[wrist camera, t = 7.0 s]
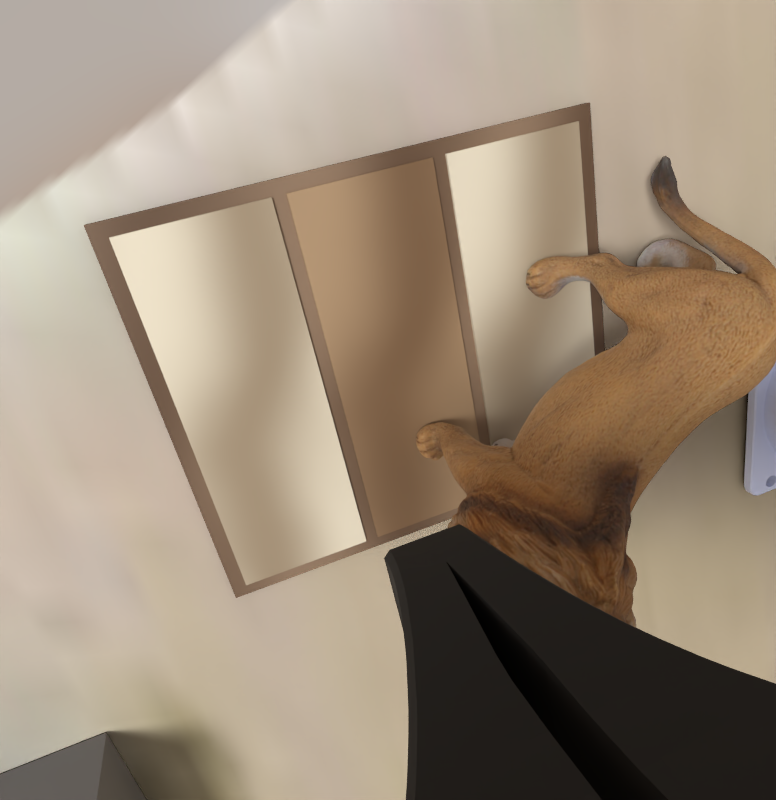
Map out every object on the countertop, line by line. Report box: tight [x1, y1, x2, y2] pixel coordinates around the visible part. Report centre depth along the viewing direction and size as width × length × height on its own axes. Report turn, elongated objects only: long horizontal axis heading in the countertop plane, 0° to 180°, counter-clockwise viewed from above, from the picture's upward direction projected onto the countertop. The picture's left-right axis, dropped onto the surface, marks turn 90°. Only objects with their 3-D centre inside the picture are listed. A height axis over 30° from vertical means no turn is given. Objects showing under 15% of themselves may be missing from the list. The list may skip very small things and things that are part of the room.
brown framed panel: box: [84, 103, 605, 598], centre depth 19 cm, size 14×12×1 cm
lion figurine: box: [416, 156, 776, 627], centre depth 16 cm, size 15×5×9 cm, turn 151°
